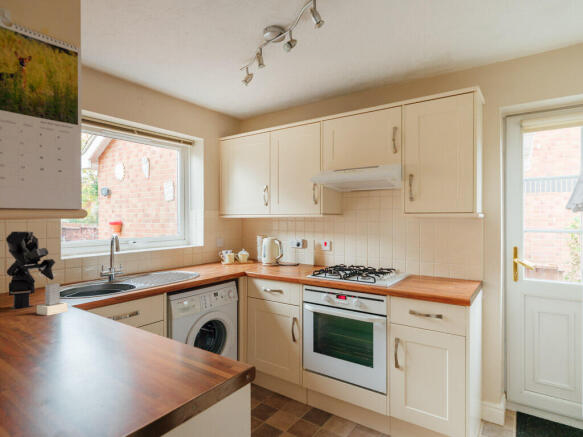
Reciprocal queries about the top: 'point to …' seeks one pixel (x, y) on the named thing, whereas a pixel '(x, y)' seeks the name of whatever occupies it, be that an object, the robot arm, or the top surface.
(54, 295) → the grey rectangular block
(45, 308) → the cream square block
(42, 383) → the top surface
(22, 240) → the robot arm
